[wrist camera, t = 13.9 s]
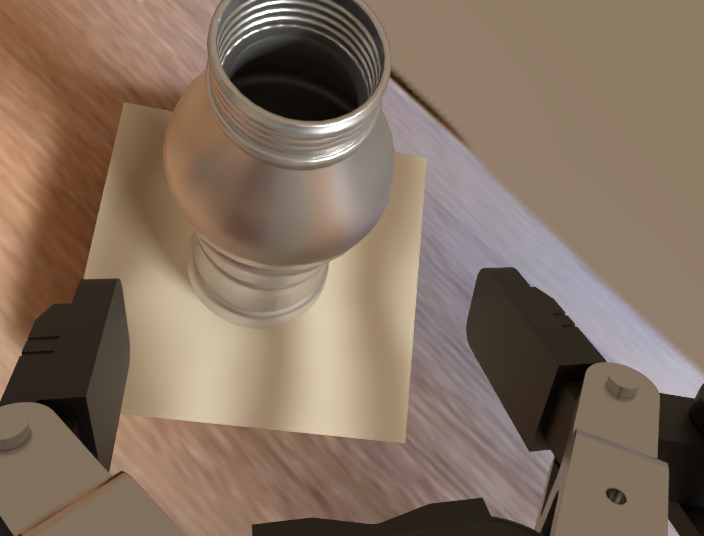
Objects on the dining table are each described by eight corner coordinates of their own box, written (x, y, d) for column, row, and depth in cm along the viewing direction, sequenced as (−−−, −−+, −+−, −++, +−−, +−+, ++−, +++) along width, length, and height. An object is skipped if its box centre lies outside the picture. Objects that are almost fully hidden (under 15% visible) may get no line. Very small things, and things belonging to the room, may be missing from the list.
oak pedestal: (80, 407, 32) (54, 406, 27) (137, 142, 36) (123, 102, 32) (381, 439, 35) (405, 443, 30) (402, 189, 39) (426, 158, 34)
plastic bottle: (206, 202, 31) (170, -132, 12) (331, 231, 32) (478, -36, 13) (176, 321, 29) (77, 149, 10) (308, 347, 30) (440, 235, 11)
